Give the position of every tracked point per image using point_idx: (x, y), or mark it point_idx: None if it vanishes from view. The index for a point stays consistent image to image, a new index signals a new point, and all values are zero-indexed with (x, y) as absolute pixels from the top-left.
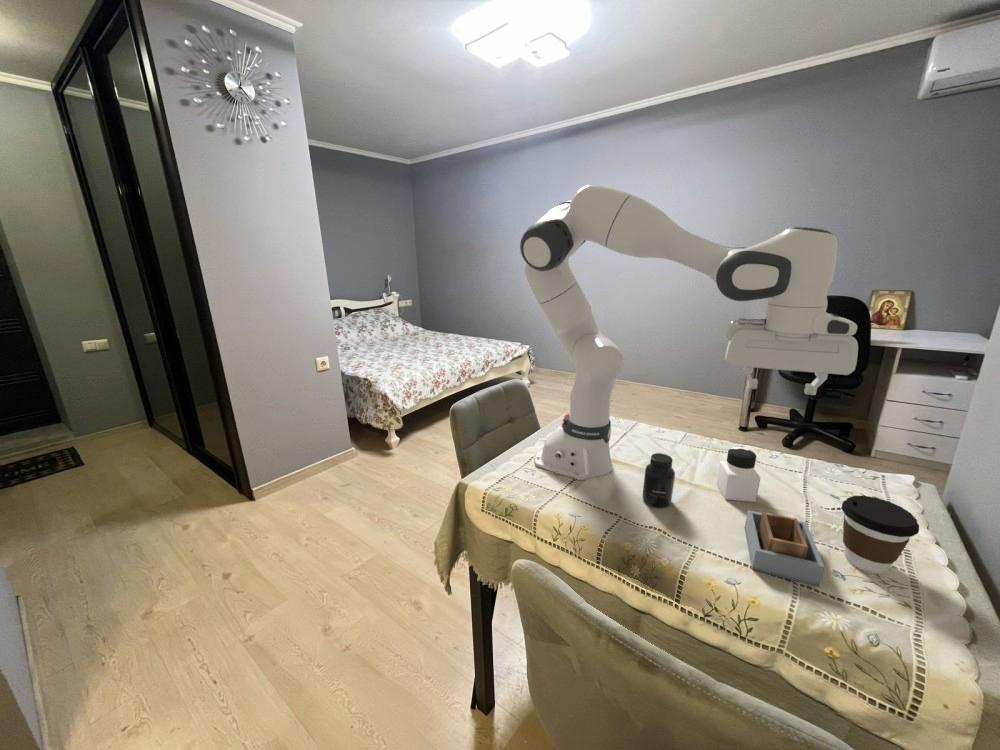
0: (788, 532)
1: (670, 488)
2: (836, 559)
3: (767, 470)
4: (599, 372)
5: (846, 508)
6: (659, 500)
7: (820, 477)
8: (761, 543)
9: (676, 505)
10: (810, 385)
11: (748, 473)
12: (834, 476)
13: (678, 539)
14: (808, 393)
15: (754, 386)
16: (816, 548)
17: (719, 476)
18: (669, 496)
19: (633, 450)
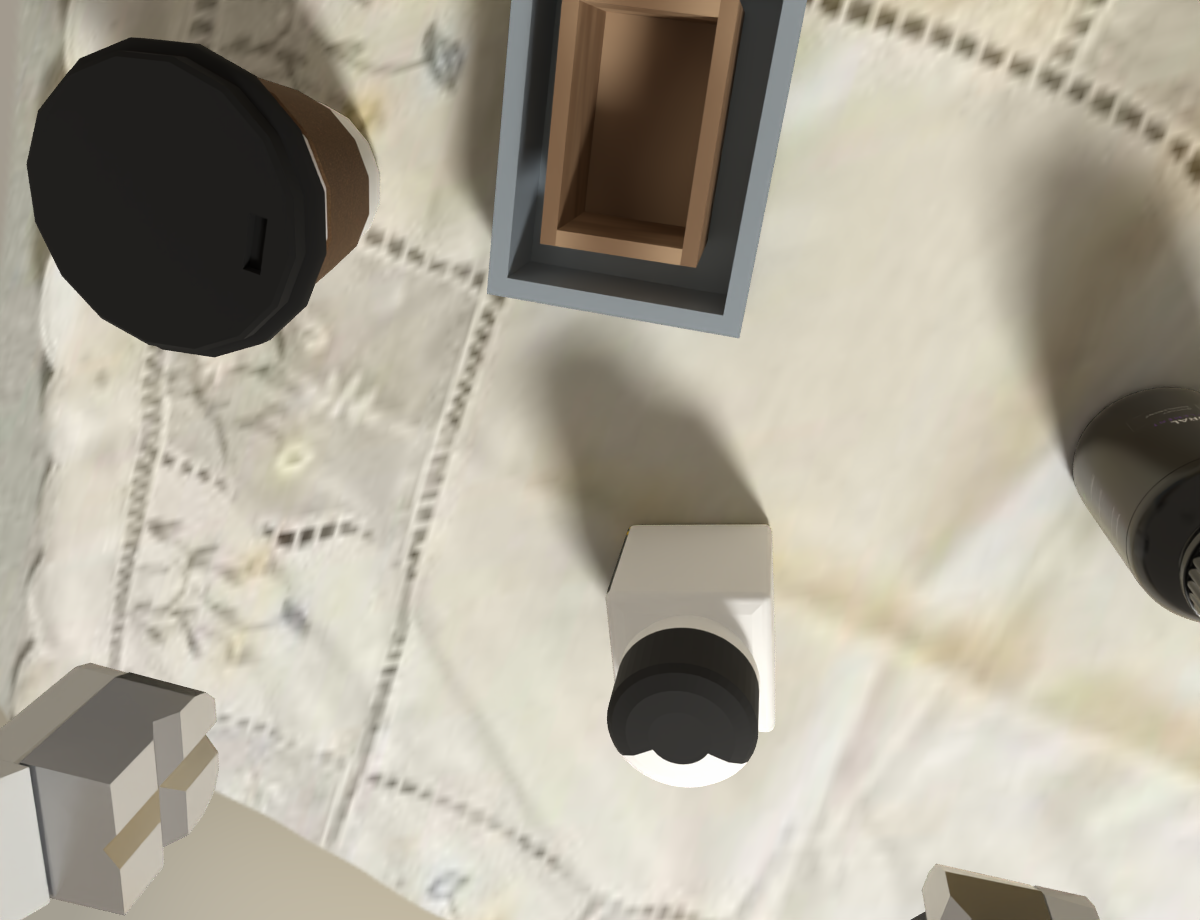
0: (584, 220)
1: (1145, 447)
2: (418, 168)
3: (504, 780)
4: None
5: (305, 227)
6: (1184, 400)
7: (308, 748)
8: (721, 150)
9: (1045, 431)
10: (67, 820)
11: (660, 618)
12: (255, 760)
13: (1131, 124)
14: (170, 688)
15: (1001, 908)
16: (506, 75)
17: (774, 656)
18: (1125, 428)
19: (1145, 906)
